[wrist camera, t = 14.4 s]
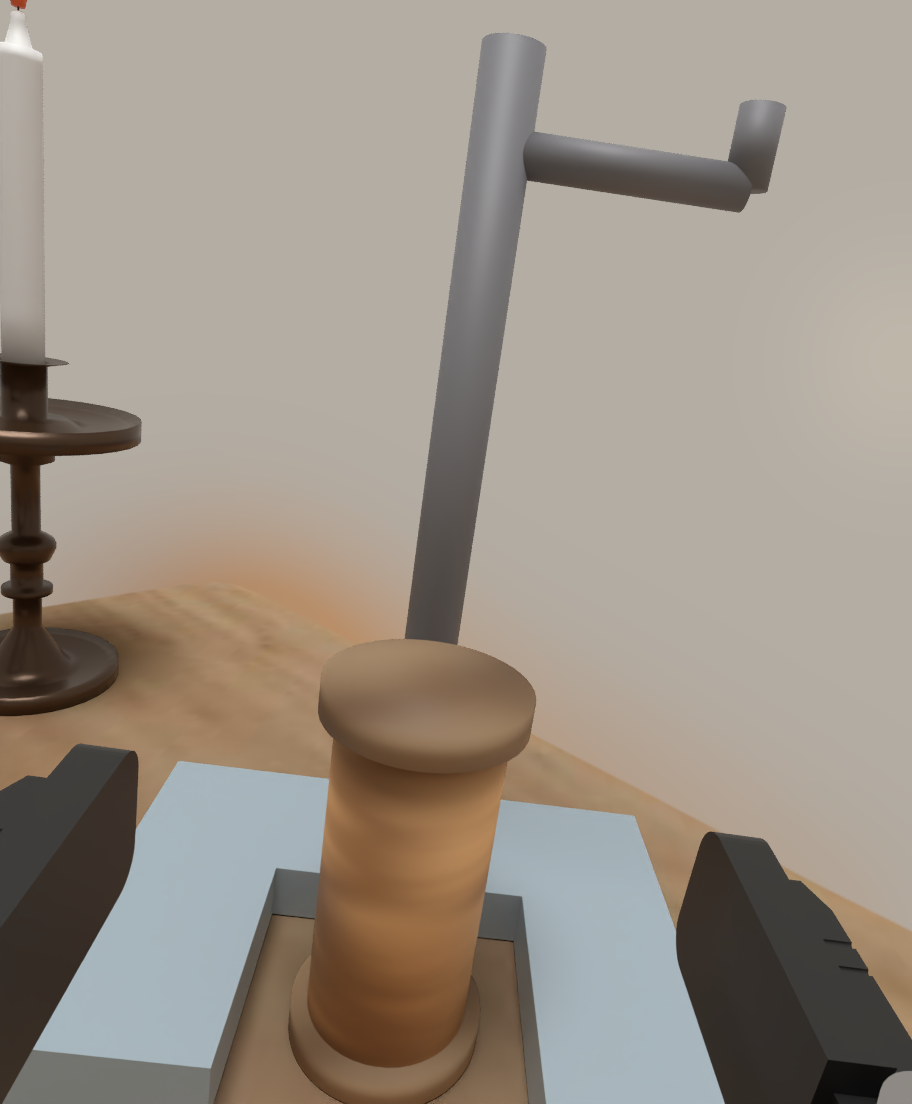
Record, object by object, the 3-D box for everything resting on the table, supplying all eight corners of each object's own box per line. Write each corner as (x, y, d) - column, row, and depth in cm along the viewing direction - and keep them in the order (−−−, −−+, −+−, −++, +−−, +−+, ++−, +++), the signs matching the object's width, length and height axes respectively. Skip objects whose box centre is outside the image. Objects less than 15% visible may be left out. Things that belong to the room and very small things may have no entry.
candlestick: (-140, 716, 38) (-213, -174, 28) (-31, 628, 48) (-56, -45, 38) (100, 731, 39) (111, -107, 29) (156, 643, 49) (177, 0, 40)
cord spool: (248, 1016, 25) (275, 669, 22) (383, 923, 30) (423, 624, 26) (383, 1155, 21) (438, 764, 18) (513, 1025, 26) (576, 694, 23)
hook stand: (1, 1104, 21) (-39, -284, 13) (177, 800, 35) (212, 23, 26) (728, 1178, 22) (1130, -86, 14) (625, 853, 36) (796, 114, 27)
